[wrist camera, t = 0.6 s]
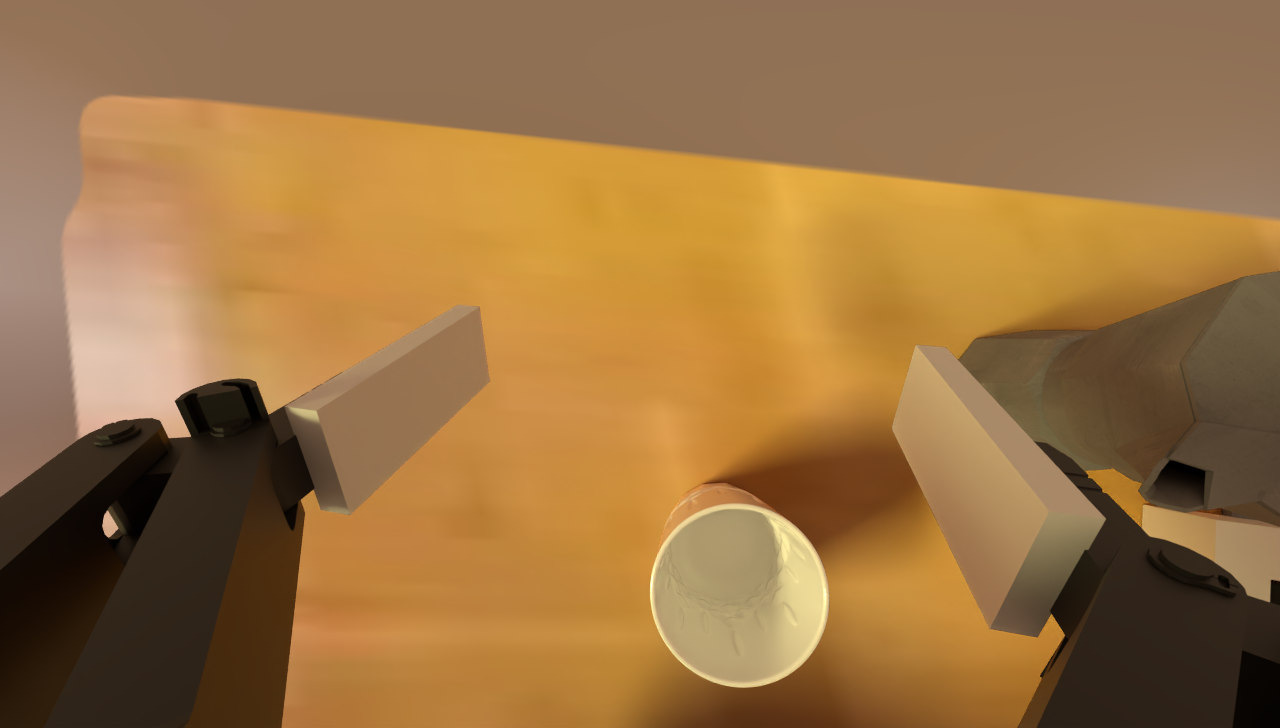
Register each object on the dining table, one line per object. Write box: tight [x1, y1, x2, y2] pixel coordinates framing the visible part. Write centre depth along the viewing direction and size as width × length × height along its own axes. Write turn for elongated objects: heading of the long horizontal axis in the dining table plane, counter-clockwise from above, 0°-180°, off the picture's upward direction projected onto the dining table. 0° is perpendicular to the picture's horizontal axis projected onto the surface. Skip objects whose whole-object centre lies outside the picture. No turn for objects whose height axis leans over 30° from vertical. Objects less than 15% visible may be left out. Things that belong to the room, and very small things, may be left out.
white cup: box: [650, 483, 829, 688], centre depth 26 cm, size 8×8×10 cm
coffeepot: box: [958, 271, 1280, 527], centre depth 22 cm, size 15×9×18 cm, turn 121°
